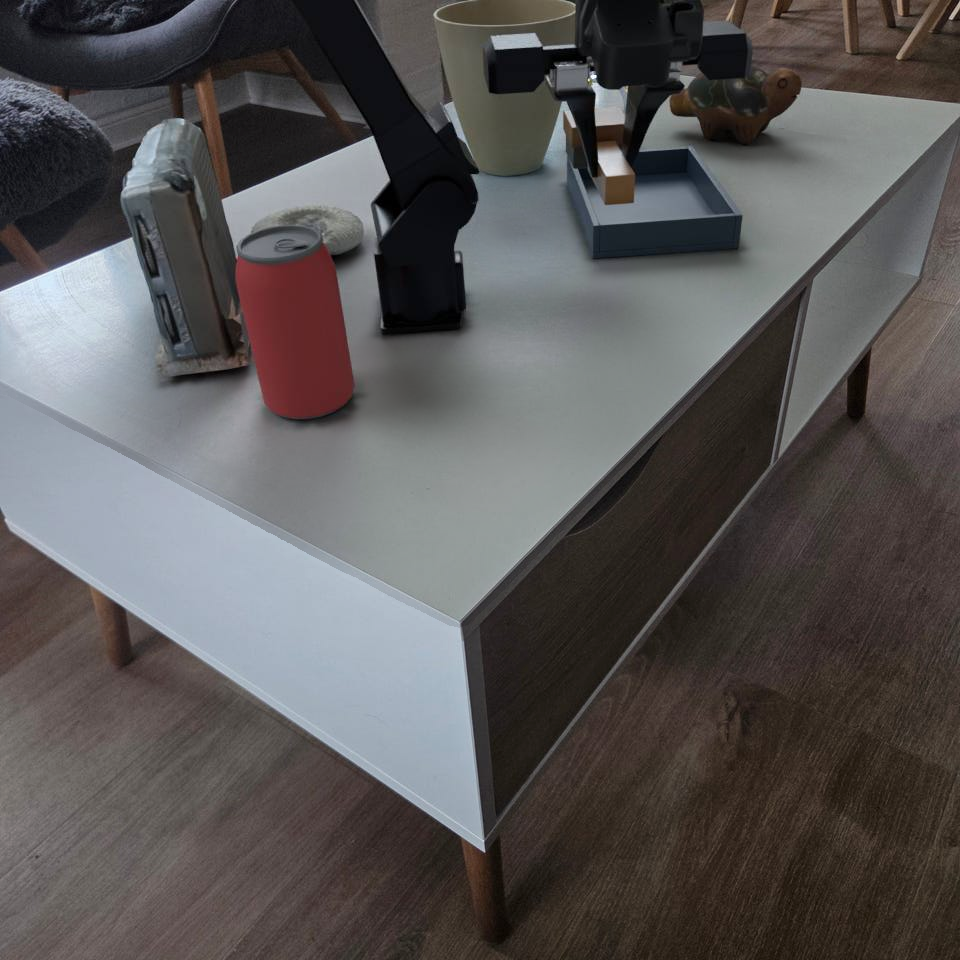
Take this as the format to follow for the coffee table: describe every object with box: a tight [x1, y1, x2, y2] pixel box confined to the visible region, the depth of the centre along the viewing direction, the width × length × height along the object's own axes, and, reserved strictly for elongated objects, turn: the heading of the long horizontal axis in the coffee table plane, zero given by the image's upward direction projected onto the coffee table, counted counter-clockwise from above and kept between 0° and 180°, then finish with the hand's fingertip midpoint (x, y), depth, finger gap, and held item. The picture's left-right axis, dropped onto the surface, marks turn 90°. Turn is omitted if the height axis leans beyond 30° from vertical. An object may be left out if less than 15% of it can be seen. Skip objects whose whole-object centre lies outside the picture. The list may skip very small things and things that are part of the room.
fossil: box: [249, 204, 365, 256], centre depth 87 cm, size 11×4×10 cm
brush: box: [562, 106, 635, 205], centre depth 73 cm, size 13×5×3 cm, turn 4°
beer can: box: [235, 225, 356, 420], centre depth 63 cm, size 7×7×12 cm
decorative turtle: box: [669, 64, 803, 146], centre depth 106 cm, size 10×15×8 cm, turn 62°
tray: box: [566, 145, 744, 260], centre depth 90 cm, size 13×19×3 cm
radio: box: [120, 117, 252, 379], centre depth 74 cm, size 23×9×15 cm, turn 5°
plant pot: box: [433, 0, 575, 177], centre depth 100 cm, size 15×15×16 cm
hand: (609, 175), depth 72 cm, fingers closed on brush, 2 cm apart
